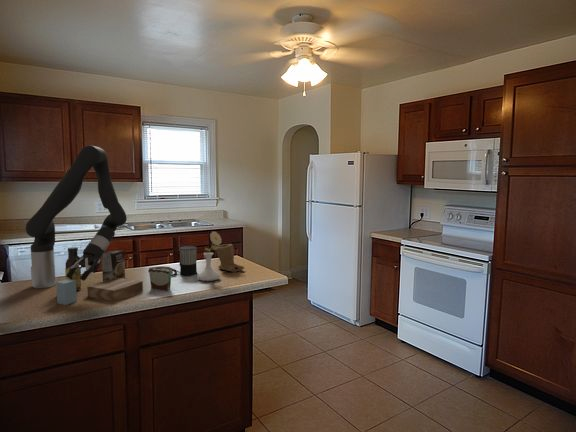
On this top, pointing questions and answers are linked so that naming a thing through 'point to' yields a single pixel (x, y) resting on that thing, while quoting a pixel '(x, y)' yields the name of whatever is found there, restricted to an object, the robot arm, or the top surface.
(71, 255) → the sauce bottle
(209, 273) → the flower in vase
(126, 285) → the walnut block
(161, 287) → the food container
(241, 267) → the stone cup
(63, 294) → the slate block
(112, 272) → the coffee box
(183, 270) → the milk frother
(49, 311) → the top surface
